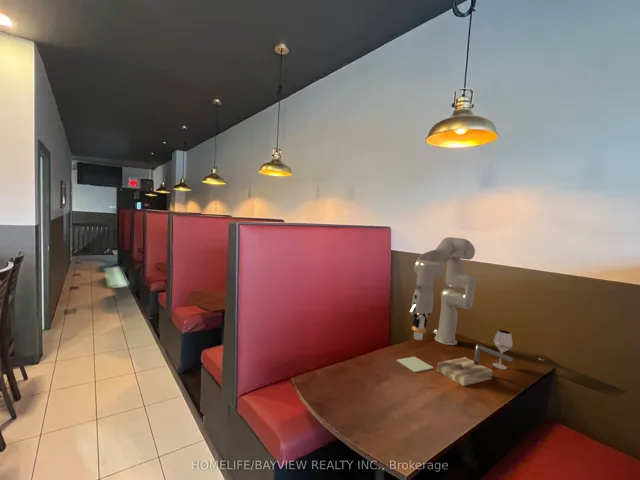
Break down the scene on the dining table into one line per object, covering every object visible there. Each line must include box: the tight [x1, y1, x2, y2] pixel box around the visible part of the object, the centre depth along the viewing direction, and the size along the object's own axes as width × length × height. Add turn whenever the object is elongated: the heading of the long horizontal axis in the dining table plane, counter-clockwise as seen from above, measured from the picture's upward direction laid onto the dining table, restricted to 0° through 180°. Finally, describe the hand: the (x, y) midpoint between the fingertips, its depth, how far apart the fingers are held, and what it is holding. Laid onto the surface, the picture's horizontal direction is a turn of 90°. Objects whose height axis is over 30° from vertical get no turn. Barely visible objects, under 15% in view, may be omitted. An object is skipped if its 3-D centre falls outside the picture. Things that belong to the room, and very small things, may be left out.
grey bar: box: [473, 344, 514, 365], centre depth 140 cm, size 16×2×9 cm, turn 34°
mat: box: [396, 356, 434, 373], centre depth 148 cm, size 12×12×1 cm
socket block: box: [436, 356, 494, 387], centre depth 143 cm, size 14×20×4 cm
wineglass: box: [492, 329, 513, 370], centre depth 156 cm, size 8×8×18 cm
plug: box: [411, 314, 427, 341], centre depth 147 cm, size 6×6×11 cm
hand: (419, 325), depth 147 cm, fingers closed on plug, 4 cm apart
